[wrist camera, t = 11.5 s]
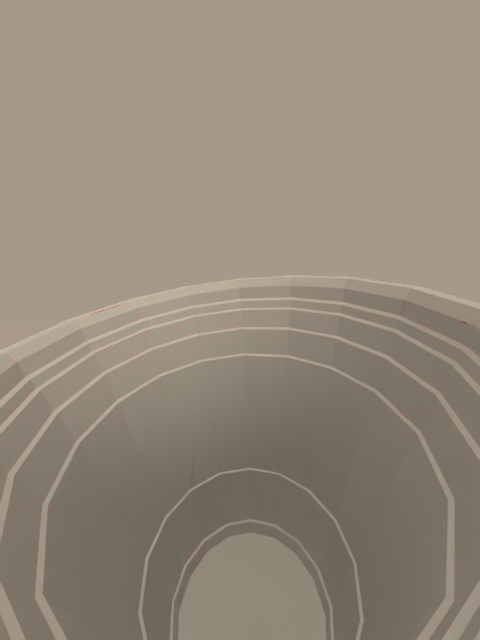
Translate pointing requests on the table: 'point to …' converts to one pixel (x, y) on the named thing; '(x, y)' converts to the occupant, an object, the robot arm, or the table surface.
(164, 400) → the plastic cup
